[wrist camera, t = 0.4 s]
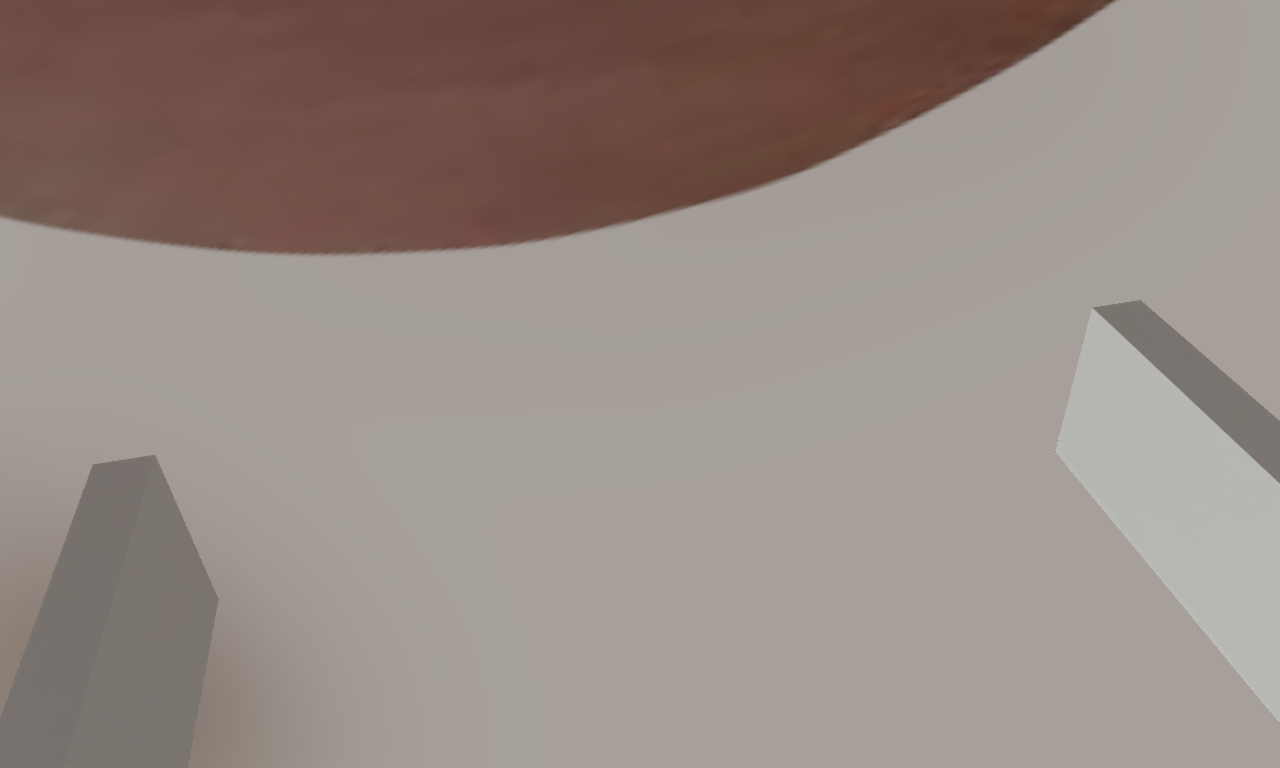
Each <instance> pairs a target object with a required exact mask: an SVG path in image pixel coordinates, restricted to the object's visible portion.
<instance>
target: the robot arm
mask: <svg viewBox="0 0 1280 768" xmlns="http://www.w3.org/2000/svg"><path fill="white" fill-rule="evenodd" d="M1055 452H1056V453H1057V454H1058V456H1059V457H1060V458H1061V459H1062V461H1063V462H1064V463H1065V464H1066V465H1067V466H1068V468H1069V469H1070V470H1071V471H1072V473H1074V475H1075V476H1076V477H1077V479H1078V480H1079V481H1080V482H1081V483H1082V485H1083V486H1084V487H1085V488H1086V490H1088V492H1089V493H1090V494H1091V496H1092V497H1093V498H1094V499H1095V500H1096V502H1097V503H1098V504H1099V505H1100V506H1101V508H1102V509H1103V510H1104V511H1105V513H1106V514H1107V515H1108V516H1109V517H1110V518H1111V520H1112V521H1113V522H1114V523H1115V524H1116V526H1117V527H1118V528H1119V529H1120V531H1121V532H1122V533H1123V534H1124V535H1125V537H1126V538H1127V539H1128V540H1129V542H1130V543H1131V544H1132V545H1133V546H1134V547H1135V549H1136V550H1137V551H1138V552H1139V554H1140V555H1141V556H1142V557H1143V558H1144V560H1145V561H1146V562H1147V563H1148V565H1149V566H1150V567H1151V568H1152V569H1153V571H1154V572H1155V573H1156V574H1157V575H1158V576H1159V578H1160V579H1161V580H1162V581H1163V583H1164V584H1165V585H1166V586H1167V587H1168V589H1169V590H1170V591H1171V592H1172V594H1173V595H1174V596H1175V597H1176V598H1177V600H1178V601H1179V602H1180V603H1181V604H1182V606H1183V607H1184V608H1185V609H1186V610H1187V612H1188V613H1189V614H1190V615H1191V616H1192V618H1193V619H1194V620H1195V621H1196V623H1197V624H1198V625H1199V626H1200V627H1201V629H1202V630H1203V631H1204V632H1205V633H1206V635H1207V636H1208V637H1209V638H1210V639H1211V641H1212V642H1213V643H1214V644H1215V646H1216V647H1217V648H1218V649H1219V650H1220V651H1221V653H1222V654H1223V655H1224V656H1225V658H1226V659H1227V660H1228V661H1229V662H1230V664H1231V665H1232V666H1233V667H1234V668H1235V670H1236V671H1237V672H1238V673H1239V674H1240V676H1241V677H1242V678H1243V679H1244V681H1245V682H1246V683H1247V684H1248V685H1249V687H1250V688H1251V689H1252V690H1253V691H1254V692H1255V694H1256V695H1257V696H1258V697H1259V699H1260V700H1261V701H1262V702H1263V704H1264V705H1265V706H1266V707H1267V708H1268V710H1269V711H1270V712H1271V713H1272V714H1273V715H1274V717H1275V718H1276V719H1277V720H1278V722H1279V723H1280V421H1279V420H1278V419H1277V418H1275V417H1274V416H1273V415H1272V414H1271V413H1270V412H1268V411H1267V410H1266V409H1265V408H1264V407H1263V406H1262V405H1261V404H1259V403H1258V402H1257V401H1256V400H1255V399H1254V398H1252V397H1251V396H1250V395H1249V394H1248V393H1247V392H1245V391H1244V390H1243V389H1242V388H1241V387H1240V386H1238V384H1236V383H1235V382H1234V381H1233V380H1232V379H1231V378H1229V377H1228V376H1227V375H1226V374H1225V373H1224V372H1223V371H1221V370H1220V369H1219V368H1218V367H1217V366H1216V365H1214V364H1213V363H1212V362H1211V361H1210V360H1209V359H1208V358H1206V357H1205V356H1204V355H1203V354H1202V353H1201V352H1199V351H1198V350H1197V349H1196V348H1195V347H1194V346H1193V345H1191V344H1190V343H1189V342H1188V341H1187V340H1186V339H1185V338H1183V337H1182V336H1181V335H1180V334H1179V333H1178V332H1177V331H1175V330H1174V329H1173V328H1172V327H1171V326H1170V325H1168V324H1167V323H1166V322H1165V321H1164V320H1163V319H1162V318H1160V317H1159V316H1158V315H1157V314H1156V313H1155V312H1153V311H1152V310H1151V309H1150V308H1149V307H1148V306H1146V305H1145V304H1144V303H1143V302H1142V301H1140V300H1139V301H1132V302H1126V303H1119V304H1113V305H1107V306H1101V307H1094V308H1092V311H1091V315H1090V319H1089V323H1088V327H1087V331H1086V335H1085V339H1084V342H1083V346H1082V350H1081V354H1080V358H1079V362H1078V366H1077V370H1076V374H1075V377H1074V381H1073V385H1072V389H1071V393H1070V397H1069V401H1068V405H1067V409H1066V412H1065V416H1064V420H1063V424H1062V428H1061V432H1060V436H1059V440H1058V444H1057V447H1056V451H1055ZM217 604H218V597H217V595H216V593H215V590H214V588H213V586H212V583H211V581H210V579H209V577H208V574H207V572H206V570H205V567H204V565H203V563H202V561H201V558H200V556H199V554H198V551H197V549H196V547H195V545H194V542H193V540H192V538H191V536H190V533H189V531H188V529H187V526H186V524H185V522H184V520H183V517H182V515H181V513H180V510H179V508H178V506H177V504H176V501H175V499H174V497H173V494H172V492H171V490H170V488H169V485H168V483H167V481H166V479H165V476H164V474H163V472H162V469H161V467H160V465H159V463H158V460H157V458H156V456H155V455H151V456H145V457H140V458H132V459H127V460H120V461H113V462H107V463H101V464H95V465H93V466H92V469H91V471H90V474H89V477H88V480H87V482H86V485H85V488H84V490H83V493H82V496H81V499H80V501H79V504H78V507H77V510H76V512H75V515H74V518H73V521H72V523H71V526H70V529H69V532H68V534H67V537H66V540H65V542H64V545H63V548H62V551H61V553H60V556H59V559H58V562H57V565H56V567H55V570H54V573H53V575H52V578H51V581H50V583H49V586H48V589H47V592H46V595H45V597H44V600H43V603H42V606H41V608H40V611H39V614H38V617H37V619H36V622H35V625H34V627H33V630H32V633H31V635H30V638H29V641H28V644H27V646H26V649H25V652H24V655H23V657H22V660H21V663H20V666H19V668H18V671H17V674H16V677H15V679H14V682H13V685H12V688H11V690H10V693H9V696H8V699H7V701H6V704H5V707H4V710H3V712H2V715H1V718H0V768H188V764H189V759H190V753H191V747H192V742H193V736H194V731H195V725H196V720H197V715H198V709H199V704H200V698H201V692H202V687H203V682H204V676H205V670H206V665H207V659H208V654H209V648H210V643H211V637H212V632H213V626H214V621H215V615H216V610H217Z"/></svg>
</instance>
